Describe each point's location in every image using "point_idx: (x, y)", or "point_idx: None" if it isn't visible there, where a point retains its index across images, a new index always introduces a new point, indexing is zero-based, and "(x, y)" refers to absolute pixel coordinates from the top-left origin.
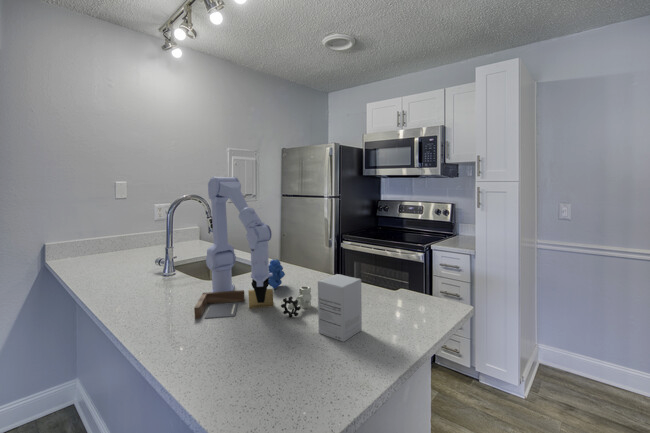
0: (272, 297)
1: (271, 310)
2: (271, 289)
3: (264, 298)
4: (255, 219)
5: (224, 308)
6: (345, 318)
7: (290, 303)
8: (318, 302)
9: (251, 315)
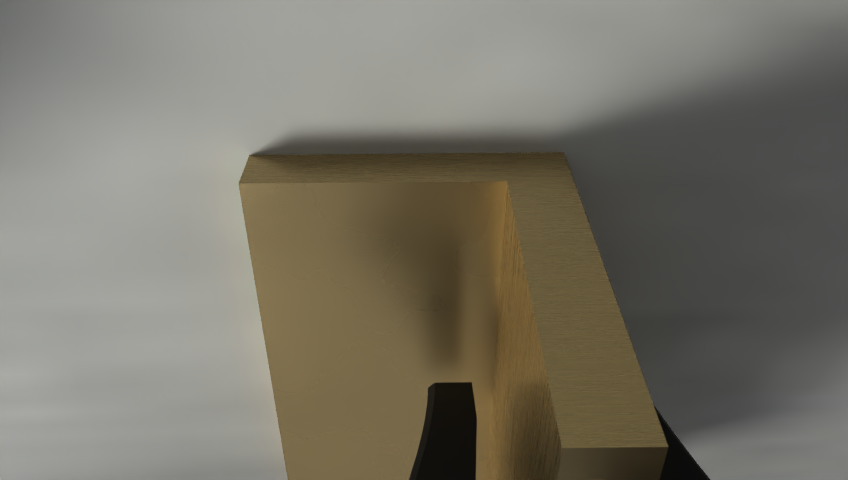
0: (607, 284)
1: (761, 185)
2: (639, 477)
3: (681, 443)
4: None
5: None
6: None
7: None
8: None
9: (820, 439)
